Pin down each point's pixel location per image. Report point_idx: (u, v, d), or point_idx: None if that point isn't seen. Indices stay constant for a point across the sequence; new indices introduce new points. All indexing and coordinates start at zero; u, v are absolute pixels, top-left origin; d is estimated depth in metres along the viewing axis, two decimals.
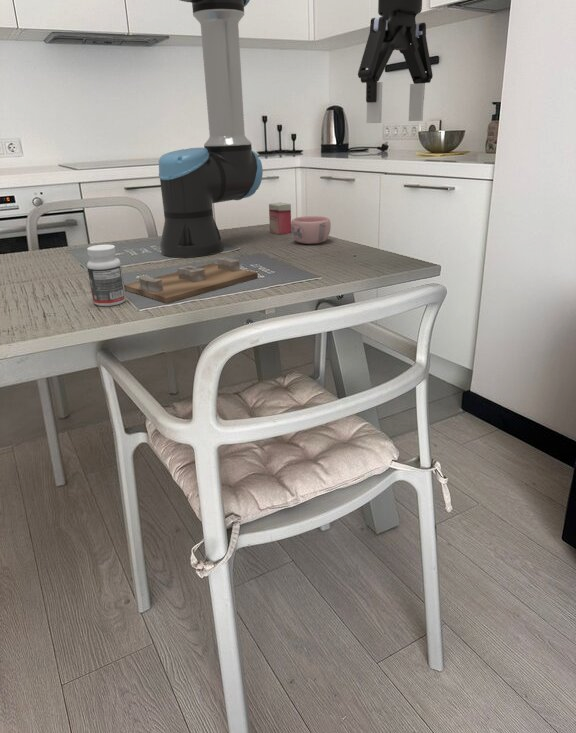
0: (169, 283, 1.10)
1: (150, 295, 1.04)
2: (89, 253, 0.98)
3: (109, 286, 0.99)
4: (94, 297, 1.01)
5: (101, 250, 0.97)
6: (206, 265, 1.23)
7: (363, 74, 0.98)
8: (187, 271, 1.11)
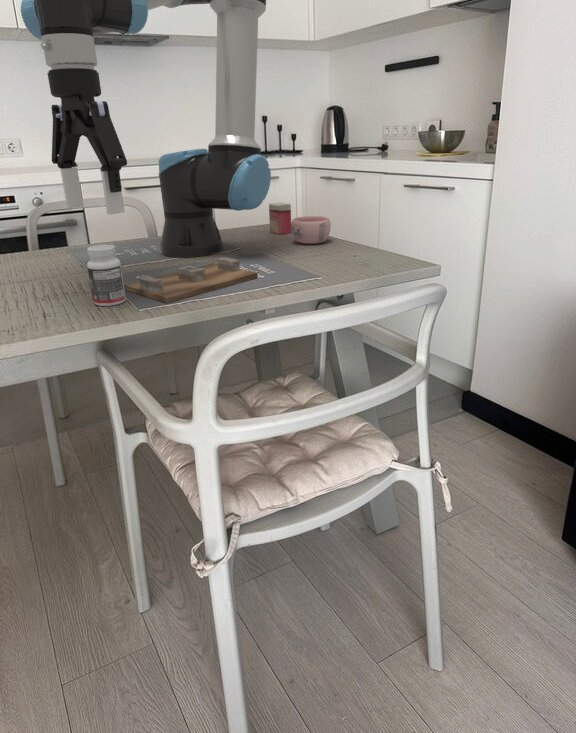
0: (169, 283, 1.10)
1: (150, 295, 1.04)
2: (89, 253, 0.98)
3: (109, 286, 0.99)
4: (94, 297, 1.01)
5: (101, 250, 0.97)
6: (206, 265, 1.23)
7: None
8: (187, 271, 1.11)
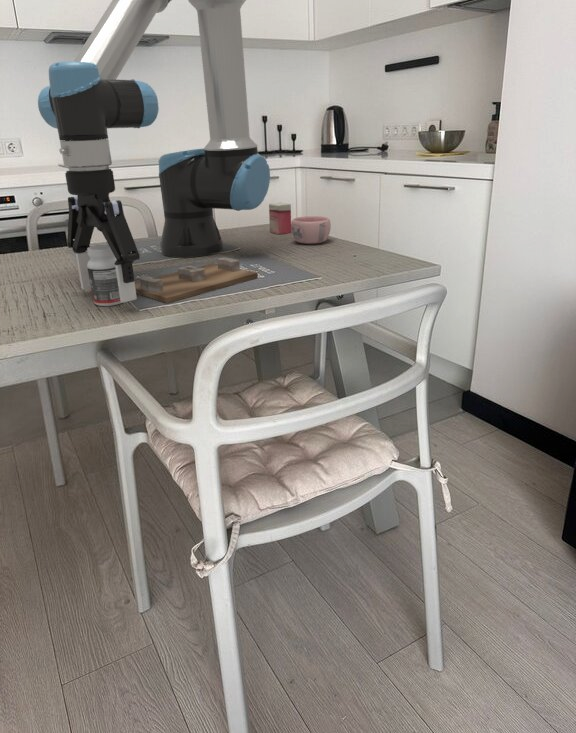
0: (169, 283, 1.10)
1: (150, 295, 1.04)
2: (89, 253, 0.98)
3: (109, 286, 0.99)
4: (94, 297, 1.01)
5: (101, 250, 0.97)
6: (206, 265, 1.23)
7: None
8: (187, 271, 1.11)
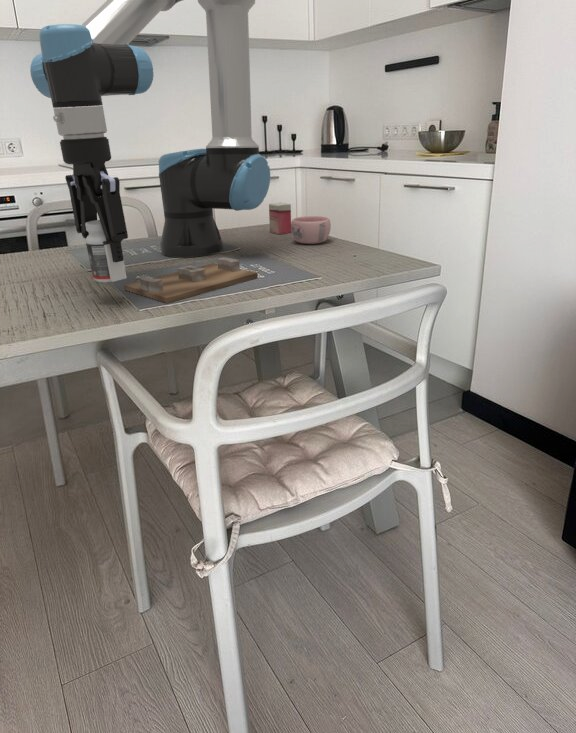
0: (169, 283, 1.10)
1: (150, 295, 1.04)
2: (87, 228, 0.97)
3: None
4: (93, 273, 1.00)
5: (99, 225, 0.96)
6: (206, 265, 1.23)
7: None
8: (187, 271, 1.11)
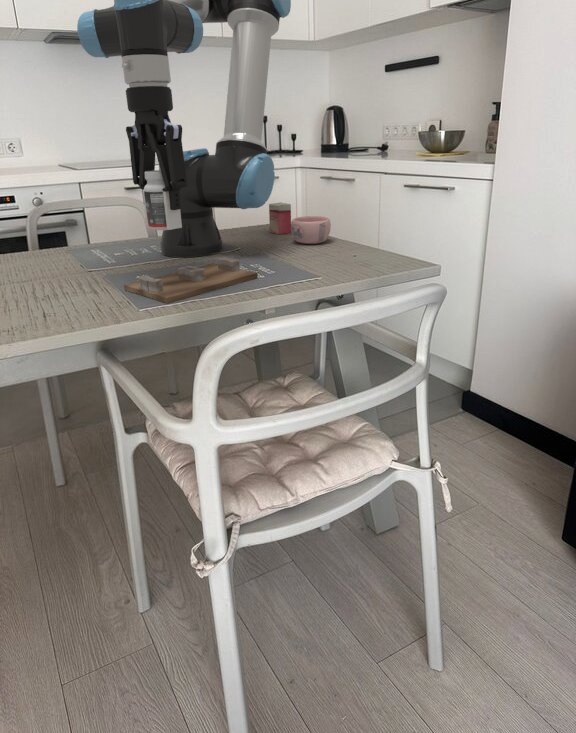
0: (169, 283, 1.10)
1: (150, 295, 1.04)
2: (147, 176, 1.00)
3: None
4: (150, 221, 1.03)
5: (159, 172, 0.99)
6: (206, 265, 1.23)
7: None
8: (187, 271, 1.11)
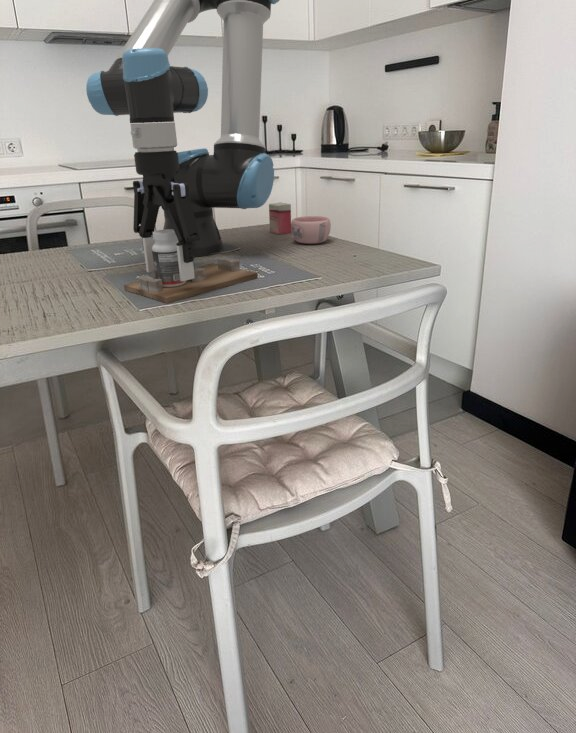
0: None
1: (150, 295, 1.04)
2: (155, 237, 1.04)
3: (172, 268, 1.06)
4: None
5: (166, 234, 1.04)
6: (206, 265, 1.23)
7: None
8: None
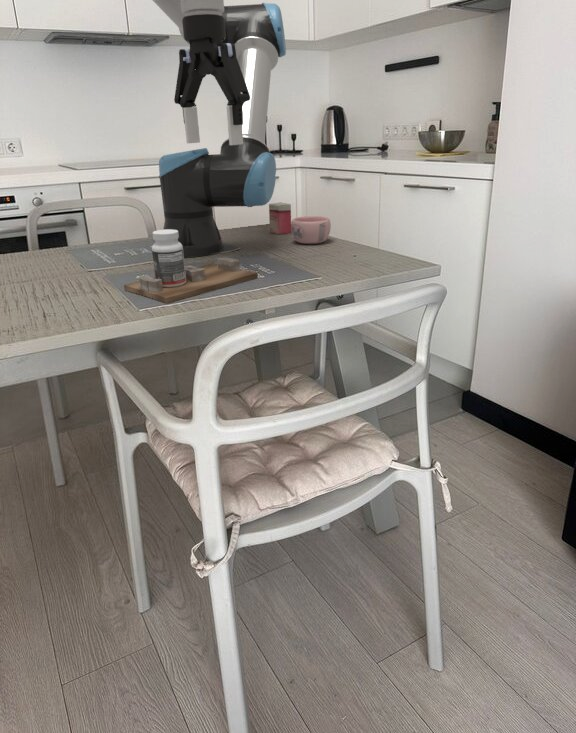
0: None
1: (150, 295, 1.04)
2: (155, 237, 1.04)
3: (172, 268, 1.06)
4: None
5: (166, 234, 1.04)
6: (206, 265, 1.23)
7: None
8: (187, 271, 1.11)
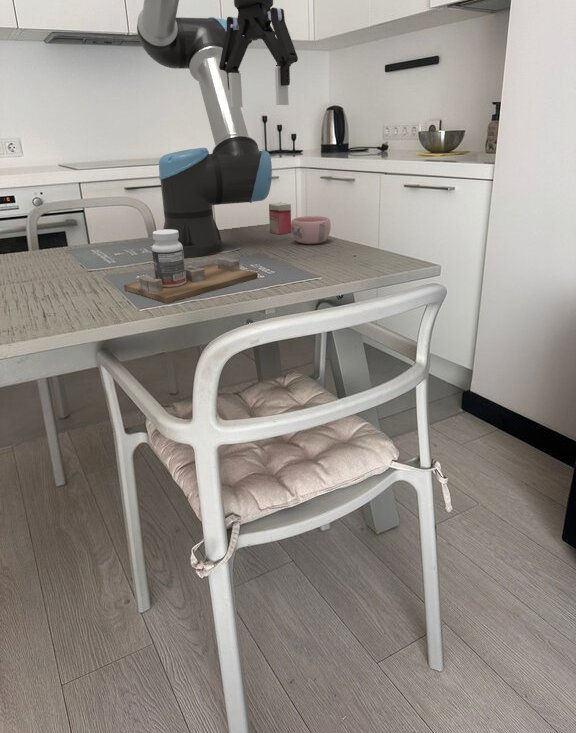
0: None
1: (150, 295, 1.04)
2: (155, 237, 1.04)
3: (172, 268, 1.06)
4: None
5: (166, 234, 1.04)
6: (206, 265, 1.23)
7: None
8: (187, 271, 1.11)
